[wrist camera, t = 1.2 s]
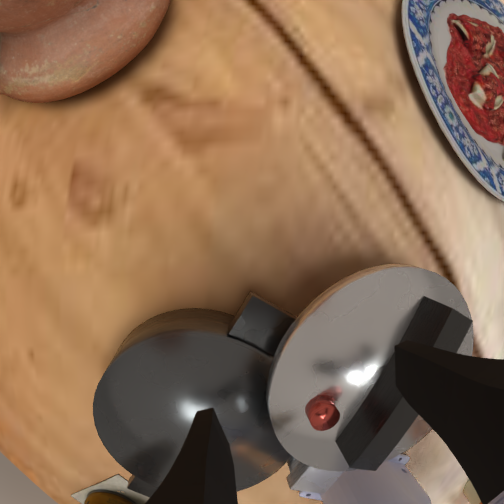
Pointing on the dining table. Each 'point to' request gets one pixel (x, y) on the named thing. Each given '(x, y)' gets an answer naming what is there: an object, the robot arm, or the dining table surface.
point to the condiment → (110, 493)
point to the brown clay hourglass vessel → (70, 43)
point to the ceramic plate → (462, 77)
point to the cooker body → (193, 391)
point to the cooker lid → (358, 370)
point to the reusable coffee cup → (471, 493)
